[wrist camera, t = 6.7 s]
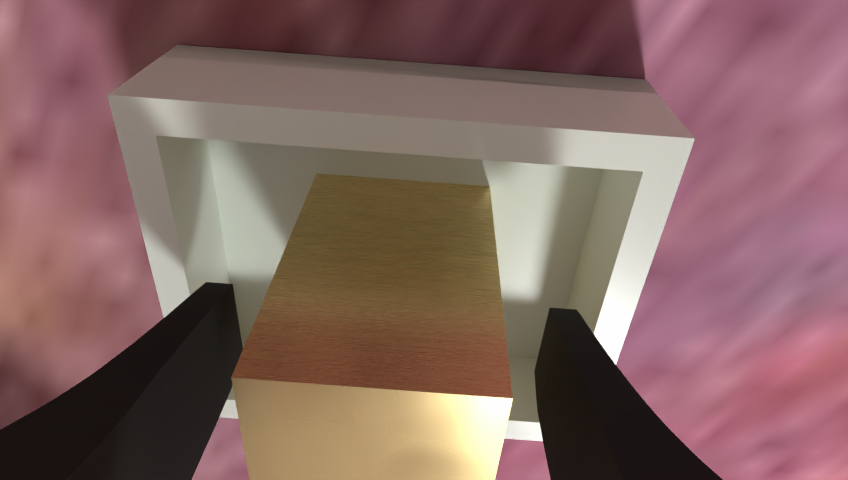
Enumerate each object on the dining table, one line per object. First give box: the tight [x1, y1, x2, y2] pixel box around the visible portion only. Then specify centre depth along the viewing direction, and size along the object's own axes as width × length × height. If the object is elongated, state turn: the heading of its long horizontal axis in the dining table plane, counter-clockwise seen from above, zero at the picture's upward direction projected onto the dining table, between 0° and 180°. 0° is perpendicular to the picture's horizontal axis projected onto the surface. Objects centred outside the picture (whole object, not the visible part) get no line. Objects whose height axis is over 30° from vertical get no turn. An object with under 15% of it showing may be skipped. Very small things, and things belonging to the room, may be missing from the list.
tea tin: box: [231, 173, 513, 480], centre depth 13 cm, size 4×4×7 cm
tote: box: [107, 45, 695, 441], centre depth 16 cm, size 10×12×4 cm
